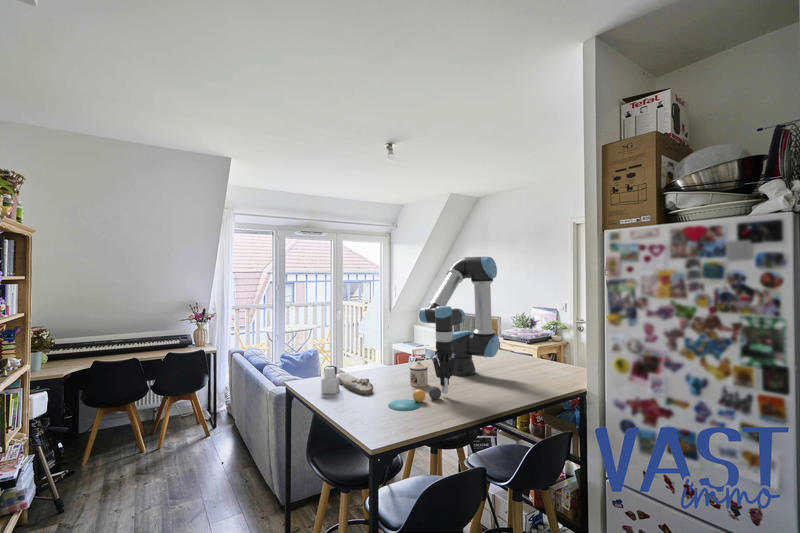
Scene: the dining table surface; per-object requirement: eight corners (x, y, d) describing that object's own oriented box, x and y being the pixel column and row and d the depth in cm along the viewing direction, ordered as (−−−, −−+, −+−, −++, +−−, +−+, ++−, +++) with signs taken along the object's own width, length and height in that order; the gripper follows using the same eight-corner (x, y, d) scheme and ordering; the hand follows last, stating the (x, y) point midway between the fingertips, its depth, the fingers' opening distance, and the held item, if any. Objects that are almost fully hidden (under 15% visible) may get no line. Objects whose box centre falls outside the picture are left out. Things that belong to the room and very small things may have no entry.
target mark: (410, 397, 175) (410, 397, 175) (427, 407, 162) (427, 406, 162) (382, 403, 168) (382, 402, 168) (398, 413, 156) (398, 412, 156)
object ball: (423, 391, 173) (414, 385, 171) (429, 394, 168) (420, 388, 166) (417, 402, 171) (408, 397, 169) (424, 406, 166) (414, 400, 164)
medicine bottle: (324, 389, 189) (324, 364, 189) (339, 389, 189) (339, 364, 189) (321, 394, 182) (321, 368, 182) (336, 394, 182) (336, 368, 182)
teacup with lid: (406, 383, 197) (406, 360, 197) (422, 381, 201) (422, 358, 201) (418, 390, 186) (418, 365, 186) (434, 387, 190) (434, 363, 190)
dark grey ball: (427, 384, 173) (425, 397, 173) (435, 388, 169) (432, 400, 168) (437, 385, 176) (434, 397, 176) (444, 388, 172) (442, 401, 171)
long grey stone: (349, 380, 212) (332, 383, 207) (348, 370, 212) (331, 374, 207) (379, 392, 182) (360, 397, 177) (378, 381, 182) (359, 386, 177)
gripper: (450, 338, 182) (451, 388, 182) (427, 340, 176) (428, 392, 175) (460, 340, 176) (461, 392, 175) (436, 343, 169) (437, 397, 169)
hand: (444, 392), depth 175 cm, fingers closed
